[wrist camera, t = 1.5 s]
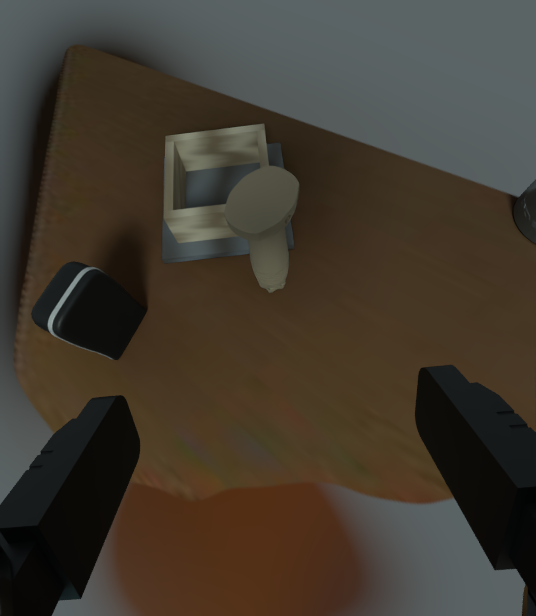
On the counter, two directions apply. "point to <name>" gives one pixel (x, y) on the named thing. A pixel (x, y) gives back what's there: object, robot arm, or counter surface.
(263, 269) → the handle
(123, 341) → the battery charger
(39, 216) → the counter surface
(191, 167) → the cream grey square tray
